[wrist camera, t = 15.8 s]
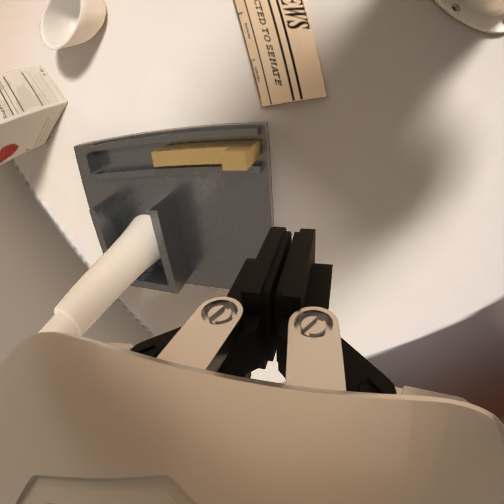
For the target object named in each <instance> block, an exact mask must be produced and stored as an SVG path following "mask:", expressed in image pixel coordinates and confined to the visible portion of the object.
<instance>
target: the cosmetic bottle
mask: <svg viewBox="0 0 504 504" xmlns="http://www.w3.org/2000/svg"><path fill="white" fill-rule="evenodd" d="M160 258H161V256H160V253H159V249H158V245H157V241H156V238H155V234H154V230H153V226H152V222H151V217H150V215H145V214H144V215H139V216H137V217H135V218H134V219H133V220H132V222H131V223H130V225H129V226H128V227H127V228H126V230H125V231H124V232H123V233H122V234H121V236H120V237H119V238H118V239H117V240H116V241H115V242H114V243H113V245H112V246H111V247H110V248H109V249H108V250H107V251H106V252H105V253H104V254H103V255H102V256H101V257H100V258H99V259H98V260H97V261H96V263H95V264H94V265H93V266H92V267H91V268H90V269H89V270H88V271H87V272H86V273H85V274H84V275H83V276H82V277H81V278H80V280H79V281H78V282H77V283H76V284H75V285H74V286H73V287H72V288H71V290H70V291H69V292H68V293H67V294H66V295H65V296H64V298H63V299H62V300H61V301H60V303H59V304H58V305H57V306H56V307H55V309H54V314H55V315H54V316H53V317H52V318H51V319H50V320H49V321H48V322H47V324H46V325H45V326H44V327H43V328H42V329H41V330H40V331H39V332H38V333H40V332H64V333H69V334H74V335H78V336H82V335H83V334H84V333H85V332H86V330H87V329H88V328H89V327H90V326H91V325H92V324H93V323H94V322H95V321H96V320H97V319H98V318H99V317H100V316H101V315H102V314H103V313H104V312H105V311H106V309H107V308H108V307H109V306H110V305H111V304H112V303H113V302H114V301H115V300H116V299H117V298H118V297H119V296H120V295H121V294H122V293H123V292H124V291H125V290H126V289H127V288H128V287H129V286H130V285H131V284H132V283H133V282H134V281H135V280H136V279H137V278H138V277H139V276H140V275H141V274H142V273H143V272H144V271H145V270H147V269H148V268H149V267H150V266H151V265H153V264H154V263H155V262H156V261H158V260H159V259H160Z"/></svg>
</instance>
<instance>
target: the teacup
mask: <svg viewBox="0 0 504 504" xmlns="http://www.w3.org/2000/svg"><path fill="white" fill-rule="evenodd" d="M106 11H107V8H106V3H105V0H48V2H47V3H46V5H45V7H44V10H43V12H42V16H41V20H40V36H41V39H42V42H43V44H44V45H45V46H46V47H47V48H49V49H52V50H56V49H61V48H66V47H71V46H75V45H79V44H81V43H84V42H86V41H88V40H90V39H91V38H92V37H93V36H94V35H95V34H96V33H97V32H98V31H99V30H100V28H101V27H102V25H103V23H104V21H105V17H106Z"/></svg>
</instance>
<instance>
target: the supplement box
mask: <svg viewBox="0 0 504 504" xmlns="http://www.w3.org/2000/svg"><path fill="white" fill-rule="evenodd" d="M67 103H68V101H67V100H66V98H65V97H64V96H63V94H62V93H61V91H60V90H59V89H58V87H57V86H56V84H55V83H54V82H53V80H52V79H51V77H50V76H49V75H48V73H47V72H46V70H45V69H44V67H43V66H42V65H39V66H34V67H29V68H24V69H19V70H15V71H11V72H6V73H2V74H0V165H1V164H3V163H5V162H7V161H9V160H11V159H13V158H15V157H17V156H19V155H21V154H23V153H26V152H28V151H30V150H32V149H34V148H36V147H39V146H41V145H43V144H45V143H46V141H47V139H48V137H49V135H50V133H51V131H52V129H53V128H54V126H55V124H56V122H57V120H58V119H59V117H60V115H61V113H62V111H63V110H64V108H65V106H66V105H67Z"/></svg>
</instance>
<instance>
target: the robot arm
mask: <svg viewBox="0 0 504 504" xmlns="http://www.w3.org/2000/svg"><path fill="white" fill-rule="evenodd" d="M434 1H435V2H436V3H437V4H438V5H439V6H440V7H441V8H442V9H444V10H445V11H446V12H447V13H448V14H450V15H451V16H453V17H454V18H455V19H457V20H458V21H460V22H462V23H464V24H465V25H467V26H469V27H471V28H474V29H477V30H479V31H483V32H487V33H504V25H503V24H504V0H434ZM452 7H454V8H455V11H454V10H453V9H452ZM332 266H333V265H330V264H317V263H315V229H300V232H295V233H294V236H293V240H292V242H291V232H289V231H286V228H285V227H271V228H270V230H269V232H268V234H267V236H266V238H265V240H264V242H263V244H262V247H261V249H260V251H259V253H258V255H257V257H256V259H255V258H247V259H246V260H245V262H244V264H243V266H242V268H241V270H240V272H239V274H238V276H237V278H236V280H235V281H234V283H233V285H232V287H231V289H230V291H229V293H228V295H227V297H215V298H212V299H209V300H207V301H205V302H204V303H202V304H201V305H200V306H199V307H198V308H197V310H196V311H195V312H194V313H193V314H192V316H191V317H190V318H189V319H188V320H187V322H186V323H185V324H184V325H183V326H182V327H179V328H177V329H174V330H172V331H169V332H167V333H164V334H161V335H159V336H156V337H154V338H151V339H148V340H146V341H143V342H141V343H139V344H137V345H135V346H134V347H133V346H132V345H131V344H124V343H109V342H99V341H96V340H92V339H89V338H85V337H82V336H78V335H74V334H69V333H64V332H40V333H35V334H32V335H29V336H27V337H26V338H24V339H23V340H22V341H21V342H20V343H19V344H17V345H16V346H15V347H14V348H13V349H12V350H11V352H10V353H9V354H8V355H7V356H6V357H5V358H4V359H3V360H2V362H1V363H0V504H504V426H503V424H502V423H501V422H500V420H499V419H498V418H497V417H496V416H495V415H493V414H492V413H490V412H488V411H487V410H485V409H483V408H480V407H478V406H475V405H472V404H470V403H468V402H467V401H466V400H465V399H463V398H460V397H457V396H451V395H446V394H441V393H436V392H432V391H427V390H422V389H418V388H413V387H409V386H404V388H403V389H402V388H397V387H395V386H394V384H393V383H392V382H391V381H390V380H389V379H388V378H387V377H386V376H385V375H384V374H383V373H381V372H380V371H379V370H378V369H377V368H376V367H374V366H373V365H372V364H371V363H370V362H369V361H368V360H366V359H365V358H364V357H363V356H362V355H361V354H360V353H358V352H357V351H356V350H355V349H354V348H353V347H351V346H350V345H349V344H348V343H347V342H346V341H345V340H343V339H342V338H341V337H340V329H339V322H338V319H337V317H336V316H335V315H334V314H333V313H332V312H331V311H329V310H328V308H329V299H330V289H331V278H332ZM276 350H277V362H278V370H279V372H280V373H281V374H282V375H283V376H284V377H285V379H286V382H285V384H281V383H275V382H268V381H262V380H256V379H250V378H251V371H253V370H256V369H258V368H261V369H265V368H266V365H267V362H268V361H273V359H274V356H275V353H276Z"/></svg>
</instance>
